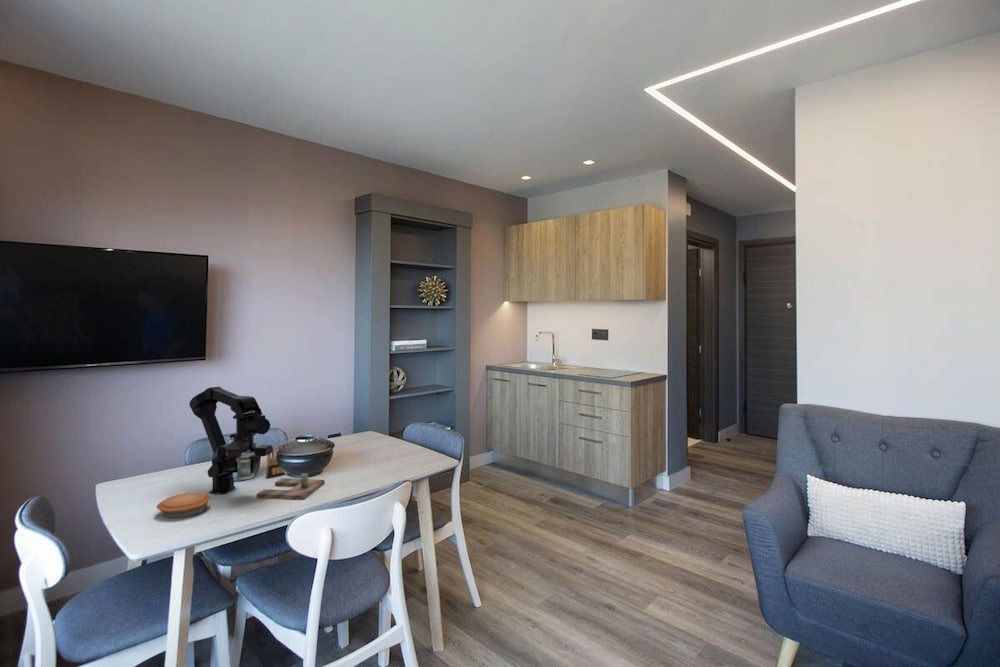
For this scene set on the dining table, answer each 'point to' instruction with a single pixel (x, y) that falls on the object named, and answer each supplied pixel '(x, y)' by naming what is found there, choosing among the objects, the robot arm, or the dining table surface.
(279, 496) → the walnut notched board
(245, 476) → the thread spool
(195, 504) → the pie
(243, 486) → the dining table surface
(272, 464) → the ammunition clip
